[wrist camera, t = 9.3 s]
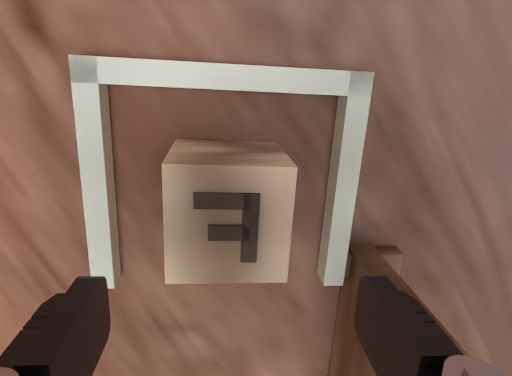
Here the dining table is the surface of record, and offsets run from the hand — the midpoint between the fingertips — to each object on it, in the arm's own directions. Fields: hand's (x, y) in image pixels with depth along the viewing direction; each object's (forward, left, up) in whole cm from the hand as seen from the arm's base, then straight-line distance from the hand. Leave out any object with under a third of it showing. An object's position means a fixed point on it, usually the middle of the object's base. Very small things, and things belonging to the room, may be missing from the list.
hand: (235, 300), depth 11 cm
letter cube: (0, -1, -10) cm, 10 cm away
